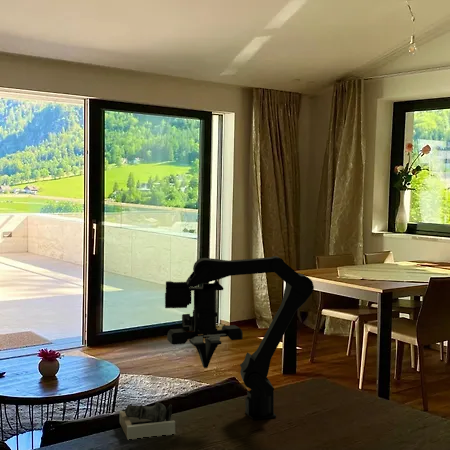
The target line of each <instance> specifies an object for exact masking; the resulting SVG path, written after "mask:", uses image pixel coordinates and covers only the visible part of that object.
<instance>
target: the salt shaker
mask: <svg viewBox="0 0 450 450" xmlns="http://www.w3.org/2000/svg"><path fill="white" fill-rule="evenodd" d="M172 410H173V405H172V404H171V403H170V404H169V405H168V406H167V408H166V406H165V405H164V404H163V403H160V402H159V401H156V402H155V404H154V405H152V406H146V405H145V406H144V405H143V404H140V405H133V404H132V405H131V404H129V405H127V406H126V408H123V409H121V411H123V412H125V413H126V416H127V417H134V418H139V420H140V419H149V420H151V421H150V422H151V423H156V422H165V421H172V416H173V415H172V414H173V411H172Z"/></svg>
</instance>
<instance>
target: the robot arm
mask: <svg viewBox="0 0 450 450" xmlns="http://www.w3.org/2000/svg"><path fill="white" fill-rule="evenodd" d="M266 273H267V274H268V273H275V274H276V275H277V276H278V277H279V278H280V279H281V280H282V281H284V283H286V284H285V287H284V290H283V295H282V296H283V297H282V301H281V304H280V305H279V308H278V310H277V312H276V313H275V315H274V317H273V319H272V320H271V323H270V324H269V326H268V327H267V329H266V330H267V331H266V332H265V334H264V335H263V337H262V339H261V341H260V343H259V345H258V346H257V349H256V350H255V351H254V352H253V353H252V354H250V353H249V352H246V355H245V356H244V359H243V362H242V363H240V364H239V367H240V377H241V379H242V381H243V384H244V385H245V387H246V388H248V389H249V390H246V391H247V392H246V393H247V395H246V397H245V399H244V400H245V404H244V405H245V406H244V407H245V411H244V413H245V414H246V415H247V416H248V417H250V418H251V419H252V420H253V421H256V420H263V419H273V418H276V417H277V414H275V410H274V409H275V408H274V406H275V403H274V402H275V401H274V399H275V395H274V394H275V393H274V391H275V388H274V386H273V384H272V382H271V381H270V378H268V374H269V371H270V365H271V360H272V358H273V356H274V354H275V352H276V350H277V349H278V346H279V344H280V342H281V341H282V339H283V337H284V335H285V333H286V331H287V330H288V327H289V326H290V324H291V322H292V320H293V318H294V316H295V314H296V313H297V312H298V310H299V309H301V307H302V306H303V305H304V304H305V303H306V302H307V301H308V299H309V298H310V297H311V295H312V294H313V292H314V289H315V286H314V282H313V280H312V279H311V278H310V277H308V276H306V275H305V274H302V273H300V272H299V273H298V272H297V271H296V270H295V269H293V268H292V267H291V266H290V265H289V264H287V263H286V262H285V261H284V260H283V258H281V257H280V256H277V255H273V256H270V257H260V258H259V257H257V258H245V259H244V258H243V259H231V260H229V259H228V260H225V259H220V258H219V259H218V258H212V257H211V258H210V257H208V258H207V257H202V258H201V257H200V258H199V259H198V258H197V260H195V262H194V264H193V268H192V273H190V275H189V277H187V279H186V281H172V280H171V281H170V280H169V281H165V293H164V308H165V309H188V306H190V304H191V305H192V292H193V310H192V316H191V314H190V313H183V314H181V324H182V328H172V329H169V330H168V331H167V335H166V337H167V341H168V342H169V343H170V344H171V345H185V344H186V343H187V342H188V341H189V343H190V345H192V346H193V347H195V349H196V351H197V352H198V355H199V359H200V361H201V365H202V367H203V369H208V367H209V364H210V362H211V359H212V357H213V355H214V353H215V352H216V349H217V348H218V346H219V345H222V341H221V340H220V339H221V338H224V337H228V339H230V340H231V341H237V340H243V338H244V337H243V336H244V335H243V334H244V333H243V330H242V329H241V327H239V326H237V325H235V324H233V325H232V324H231V325H222V327H221V329H218V328H217V317H218V312H217V291H224V289H225V288H224V287H223V286H222V285H221V284H220V283H219V281H218V280H221V279H224V278H227V277H231V276H233V277H234V276H244V275H257V274H266ZM199 285H201V286H199ZM187 327H189V331H186V330H185V329H184V328H187Z"/></svg>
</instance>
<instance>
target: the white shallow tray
mask: <svg viewBox="0 0 450 450" xmlns="http://www.w3.org/2000/svg"><path fill="white" fill-rule="evenodd" d="M143 422H148V423H143ZM134 423H138V424H134ZM119 425H120V426H121V428H122V431H123V432H124V435H125V437H126V439H127V440H128V441H130V440H129V439H132V440H138V439H137V438H141V439H144V438H143V437H149V438H152V437H151V436H157V437H163V436H162V435H166V436H173V435H172V434H174V435H176V421H175V420H171V421H166V420H165V421H164V422H156V423H153V422H152V421H151V420H149V419H140V420H139V418H134V417H127V416H126V413H125V412H123V411H122V410H119Z"/></svg>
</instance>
